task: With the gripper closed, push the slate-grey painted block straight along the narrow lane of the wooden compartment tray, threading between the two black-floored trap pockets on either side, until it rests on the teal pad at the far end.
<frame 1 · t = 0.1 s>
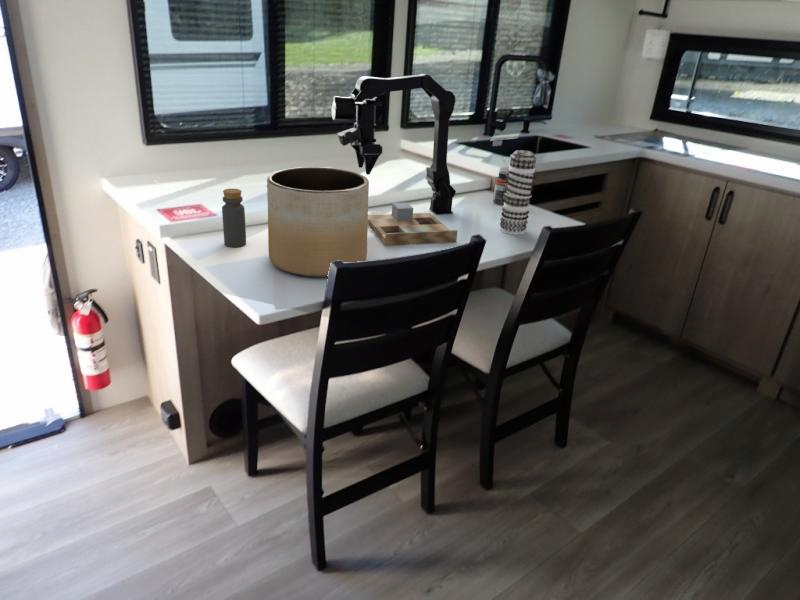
hand: (364, 170, 187), 14 cm above the counter, tool pointing down, fingers open, 9 cm apart
supplement bottle: (500, 203, 217), on the counter
decorative candle: (512, 231, 188), on the counter
wooden compartment tray: (408, 230, 181), on the counter
bottle: (235, 244, 162), on the counter
planter: (318, 262, 155), on the counter
block: (401, 217, 186), point 2 cm above the counter, touching wooden compartment tray
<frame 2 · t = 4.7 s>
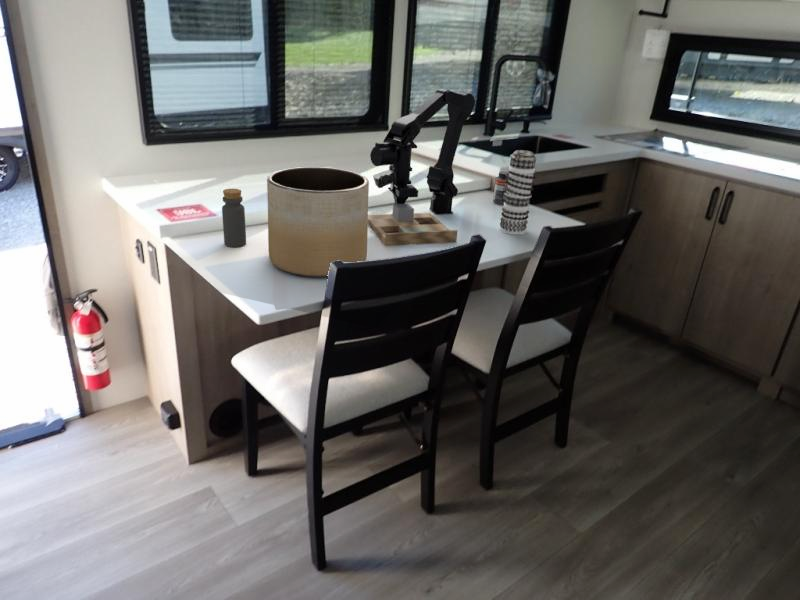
hand: (398, 211, 189), 3 cm above the counter, tool pointing down, fingers closed
block: (402, 218, 186), point 2 cm above the counter, touching wooden compartment tray, gripper
everything else where it was.
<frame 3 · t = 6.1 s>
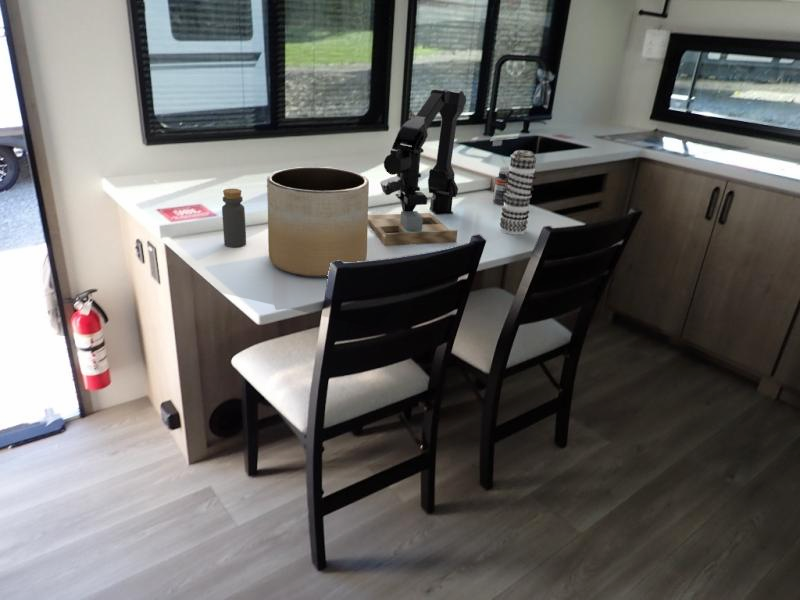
hand: (406, 219, 182), 3 cm above the counter, tool pointing down, fingers closed
block: (411, 226, 179), point 2 cm above the counter, touching wooden compartment tray, gripper
everything else where it was.
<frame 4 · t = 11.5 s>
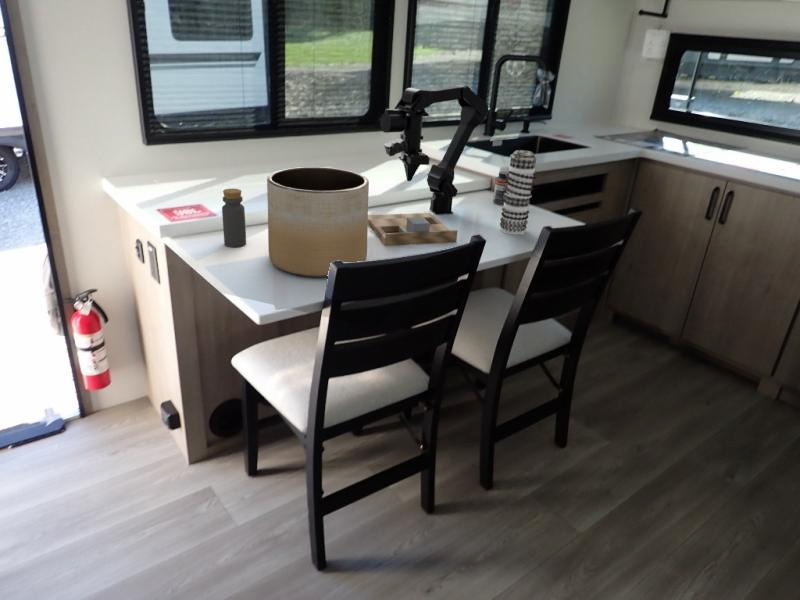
hand: (408, 180, 189), 12 cm above the counter, tool pointing down, fingers closed
block: (417, 233, 174), point 2 cm above the counter, touching wooden compartment tray
everything else where it was.
at the end: block 0.6 cm from the target spot, point 2.0 cm above the counter; block tilted 0°; the gripper is holding nothing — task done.
